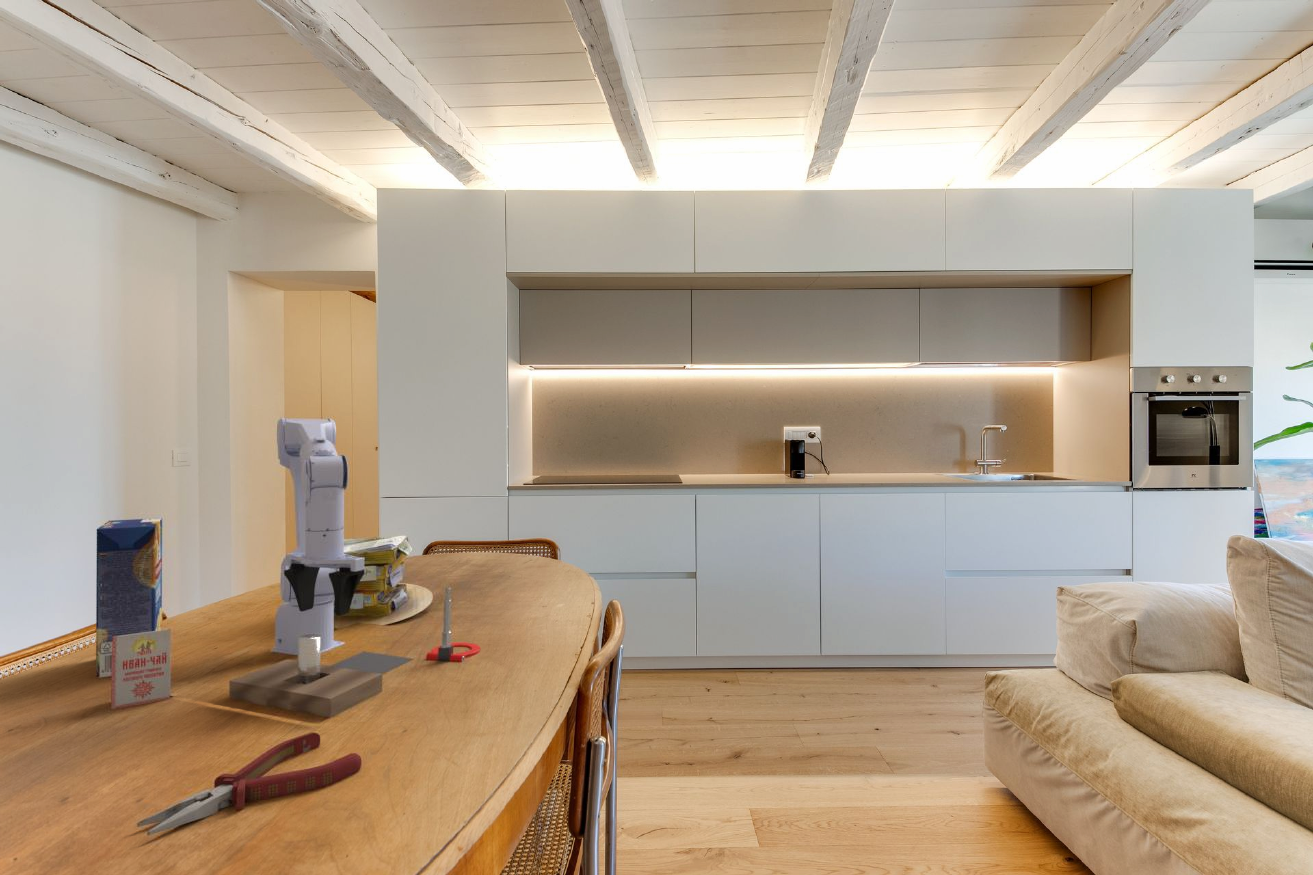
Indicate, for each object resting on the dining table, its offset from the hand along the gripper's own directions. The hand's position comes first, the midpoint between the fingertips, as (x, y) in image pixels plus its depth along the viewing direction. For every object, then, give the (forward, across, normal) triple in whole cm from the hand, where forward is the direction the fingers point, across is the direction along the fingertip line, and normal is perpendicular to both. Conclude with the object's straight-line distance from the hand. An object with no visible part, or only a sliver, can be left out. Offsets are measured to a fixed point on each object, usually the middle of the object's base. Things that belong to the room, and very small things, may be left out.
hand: (324, 611), depth 108 cm
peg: (+10, +5, -8) cm, 14 cm away
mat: (+10, +4, +5) cm, 12 cm away
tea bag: (+11, -17, -17) cm, 26 cm away
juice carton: (+10, -35, -7) cm, 37 cm away
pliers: (+11, +19, -28) cm, 36 cm away
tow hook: (+11, +14, +16) cm, 24 cm away
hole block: (+10, +5, -8) cm, 14 cm away
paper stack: (+10, -20, +33) cm, 40 cm away
